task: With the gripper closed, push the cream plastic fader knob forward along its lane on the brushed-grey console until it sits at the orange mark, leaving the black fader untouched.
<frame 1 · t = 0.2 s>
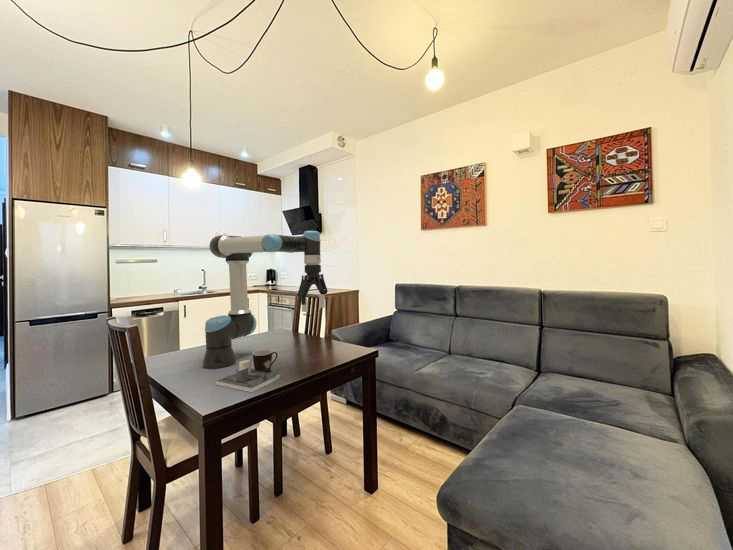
hand: (313, 309, 148), 28 cm above the table, fingers open, 13 cm apart
coffee mug: (266, 374, 143), on the table, touching console
fader a: (245, 366, 139), point 4 cm above the table, slide at 0.0 cm
fader b: (242, 374, 129), point 4 cm above the table, slide at 7.0 cm
console: (248, 381, 133), on the table
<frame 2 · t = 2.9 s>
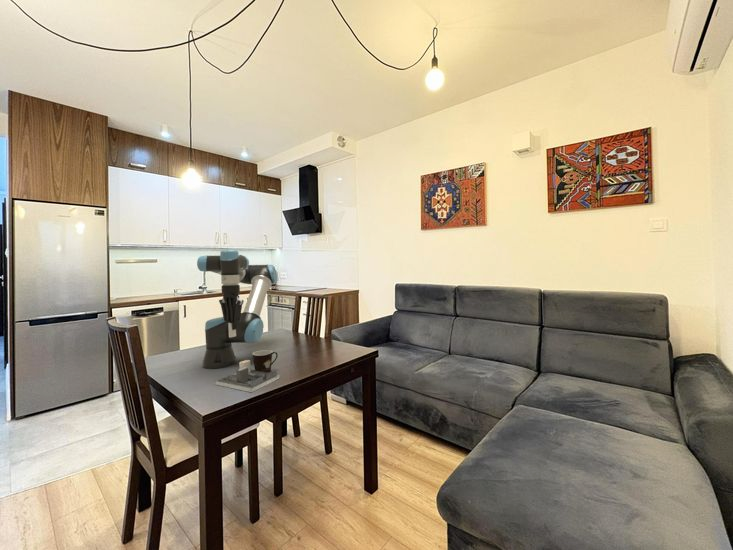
hand: (232, 336, 142), 17 cm above the table, fingers closed
nothing on the table moved.
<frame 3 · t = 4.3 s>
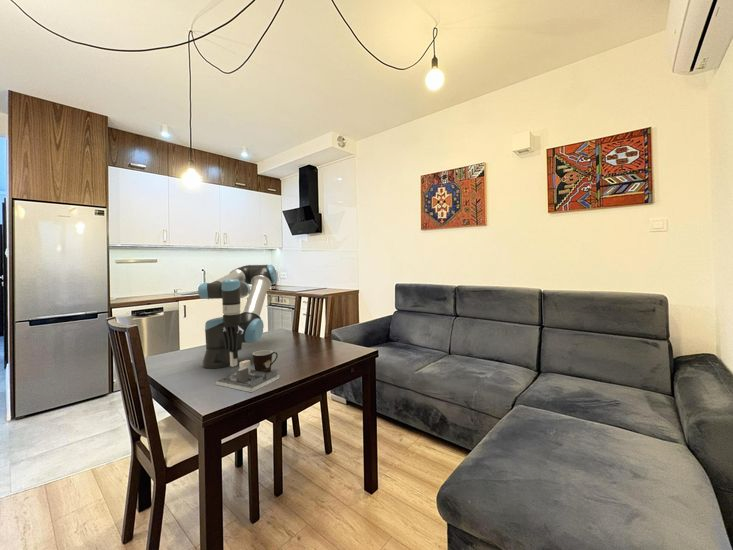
hand: (233, 365, 142), 4 cm above the table, fingers closed
nothing on the table moved.
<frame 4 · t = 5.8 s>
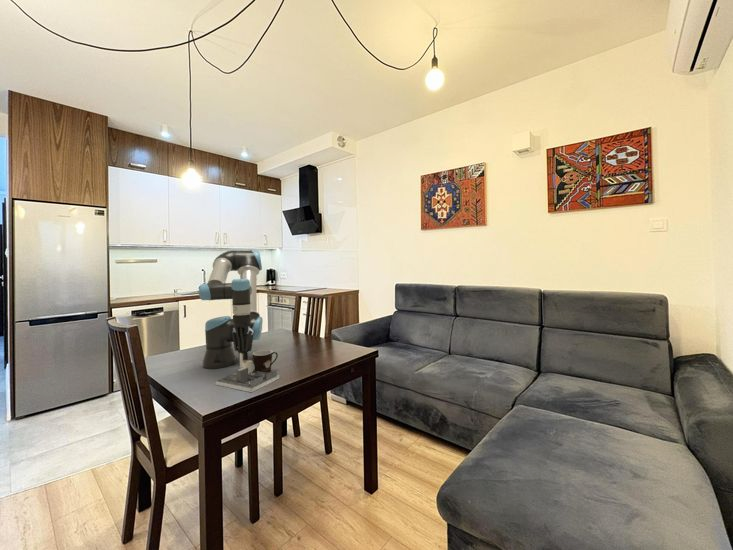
hand: (243, 367, 139), 4 cm above the table, fingers closed
fader a: (247, 367, 139), point 4 cm above the table, slide at 1.5 cm, touching gripper
everything else where it was.
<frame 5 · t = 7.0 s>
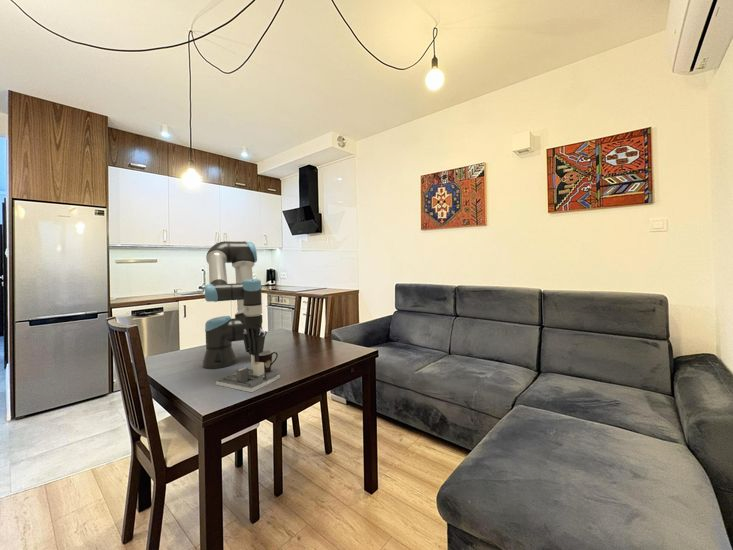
hand: (254, 368, 137), 4 cm above the table, fingers closed
fader a: (258, 369, 136), point 4 cm above the table, slide at 8.0 cm, touching gripper
everything else where it was.
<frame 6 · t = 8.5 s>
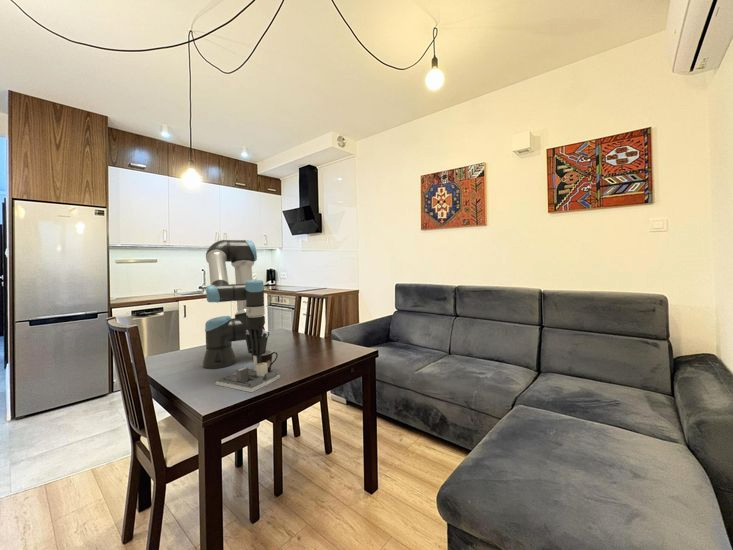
hand: (257, 369, 137), 4 cm above the table, fingers closed
coffee mug: (266, 374, 143), on the table, touching console, gripper
fader a: (262, 369, 135), point 4 cm above the table, slide at 9.9 cm
everything else where it was.
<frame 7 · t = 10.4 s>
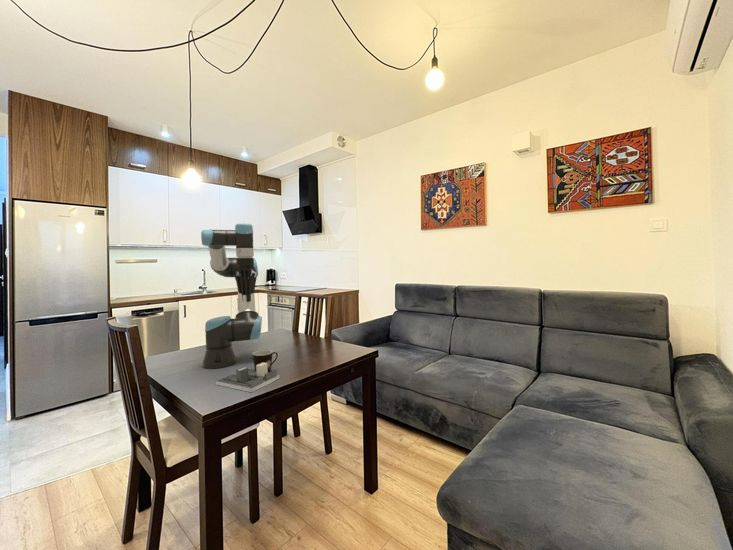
hand: (246, 308, 146), 29 cm above the table, fingers closed
coffee mug: (266, 374, 143), on the table, touching console
everything else where it was.
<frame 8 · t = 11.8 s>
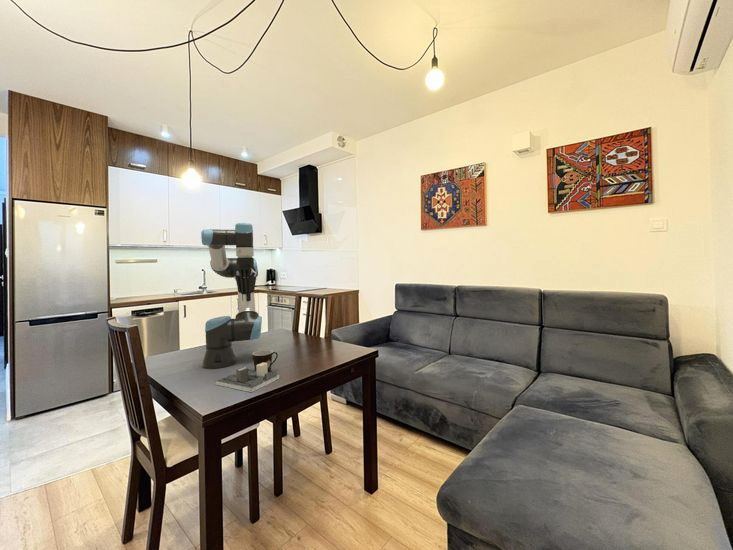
hand: (246, 308, 146), 29 cm above the table, fingers closed
nothing on the table moved.
at the end: fader a slide at 9.9 cm; fader b slide at 7.0 cm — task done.
